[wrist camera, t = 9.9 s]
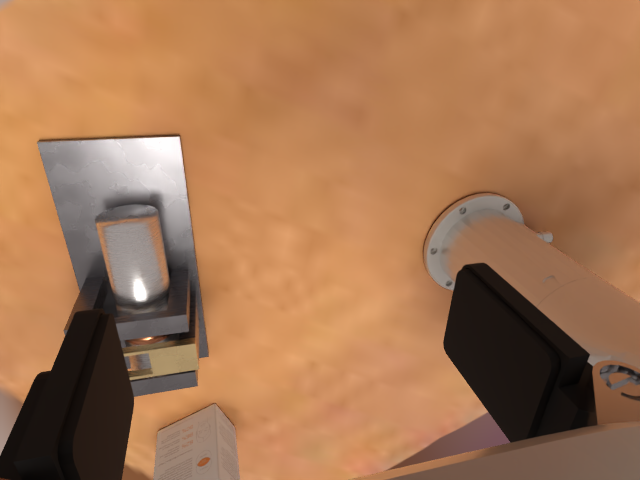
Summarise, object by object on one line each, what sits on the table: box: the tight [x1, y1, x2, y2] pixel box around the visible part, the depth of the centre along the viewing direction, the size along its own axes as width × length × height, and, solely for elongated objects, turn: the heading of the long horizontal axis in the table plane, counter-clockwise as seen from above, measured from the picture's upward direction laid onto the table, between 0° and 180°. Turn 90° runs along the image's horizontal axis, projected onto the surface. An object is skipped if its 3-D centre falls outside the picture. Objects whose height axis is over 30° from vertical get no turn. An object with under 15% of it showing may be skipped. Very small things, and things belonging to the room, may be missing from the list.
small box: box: [153, 404, 240, 480], centre depth 50 cm, size 8×6×10 cm
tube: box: [95, 204, 179, 371], centre depth 41 cm, size 18×5×5 cm, turn 179°
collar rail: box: [37, 135, 209, 397], centre depth 38 cm, size 11×25×9 cm, turn 179°
